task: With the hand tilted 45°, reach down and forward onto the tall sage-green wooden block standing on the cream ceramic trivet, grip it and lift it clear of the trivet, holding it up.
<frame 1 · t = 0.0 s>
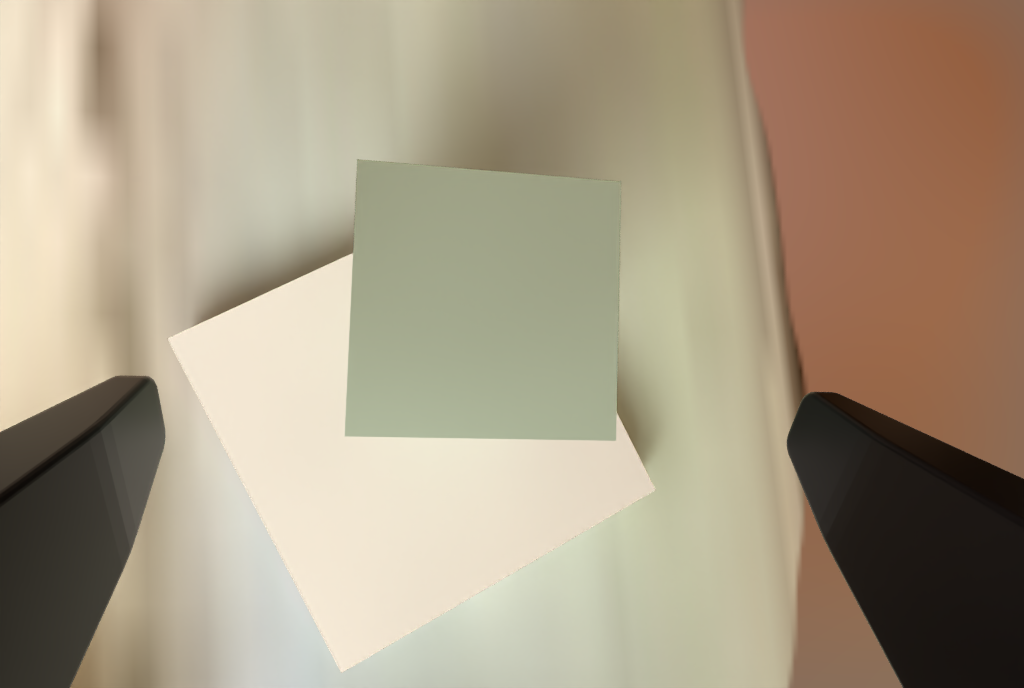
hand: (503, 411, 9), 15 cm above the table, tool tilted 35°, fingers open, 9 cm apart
sage block: (451, 338, 22), point 2 cm above the table, touching trivet
trivet: (423, 415, 23), on the table
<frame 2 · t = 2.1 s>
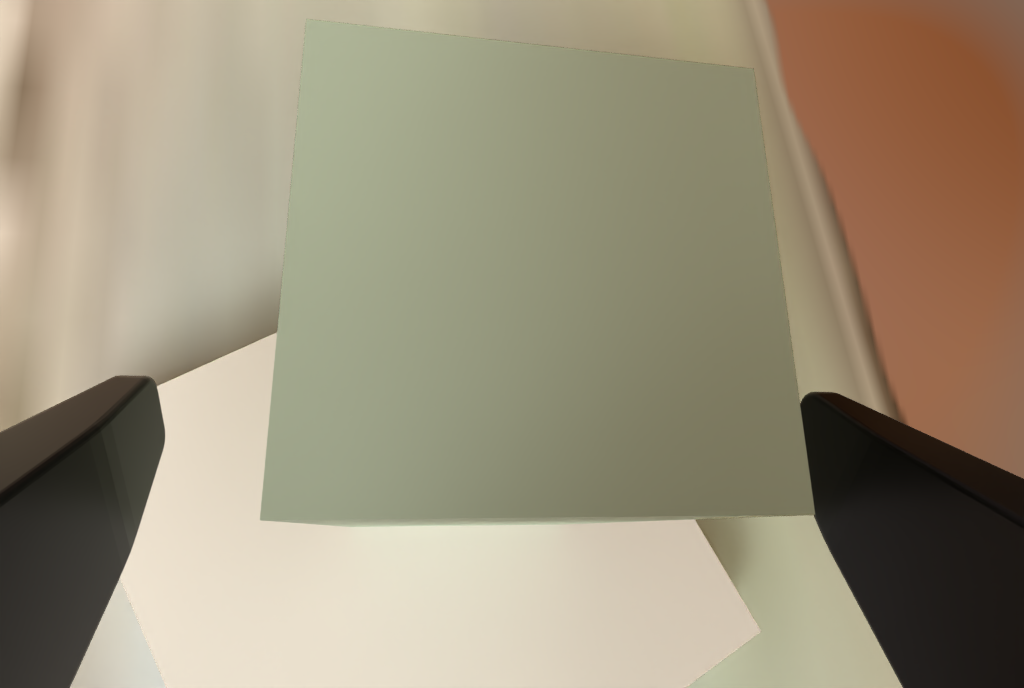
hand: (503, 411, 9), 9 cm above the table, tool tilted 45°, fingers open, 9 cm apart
sage block: (459, 420, 16), point 2 cm above the table, touching trivet
trivet: (422, 535, 17), on the table
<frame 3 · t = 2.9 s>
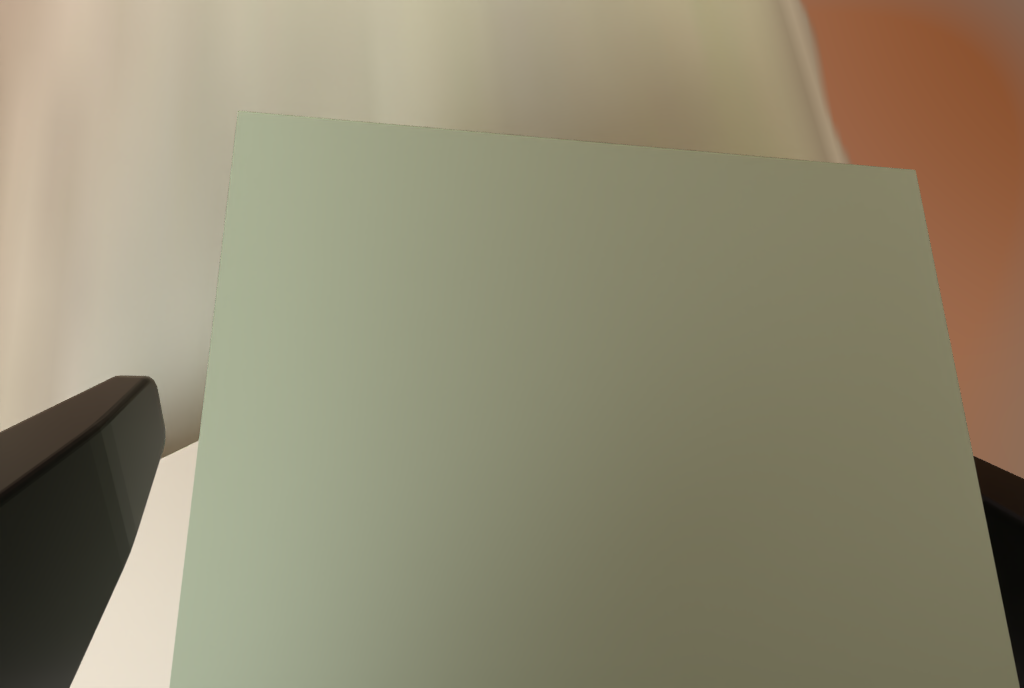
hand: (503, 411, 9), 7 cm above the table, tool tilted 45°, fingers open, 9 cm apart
sage block: (466, 518, 13), point 2 cm above the table, touching trivet
trivet: (422, 644, 14), on the table
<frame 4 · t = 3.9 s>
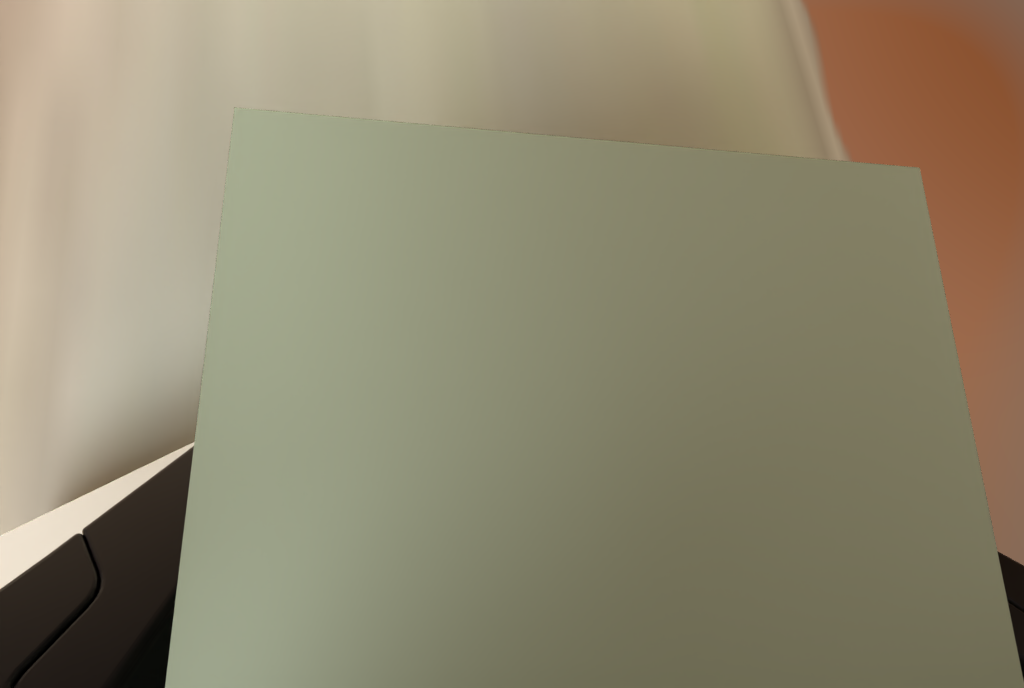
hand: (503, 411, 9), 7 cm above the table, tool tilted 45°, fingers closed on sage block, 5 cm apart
sage block: (466, 518, 13), point 2 cm above the table, touching gripper, trivet
trivet: (422, 645, 14), on the table
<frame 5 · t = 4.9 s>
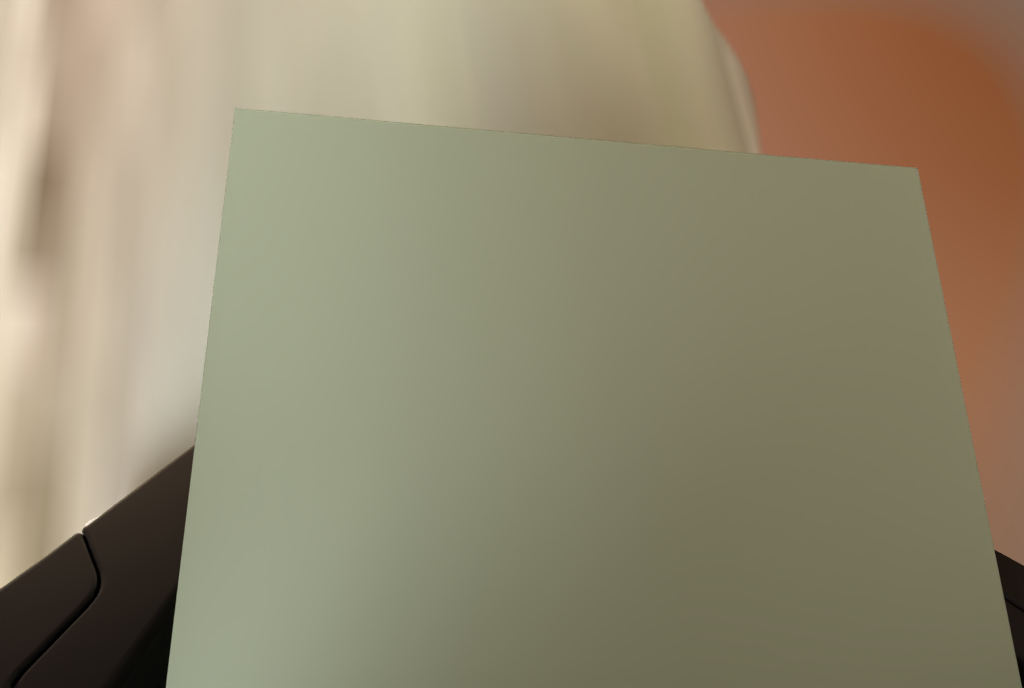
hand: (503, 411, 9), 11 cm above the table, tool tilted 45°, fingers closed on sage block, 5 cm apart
sage block: (466, 517, 13), point 6 cm above the table, touching gripper
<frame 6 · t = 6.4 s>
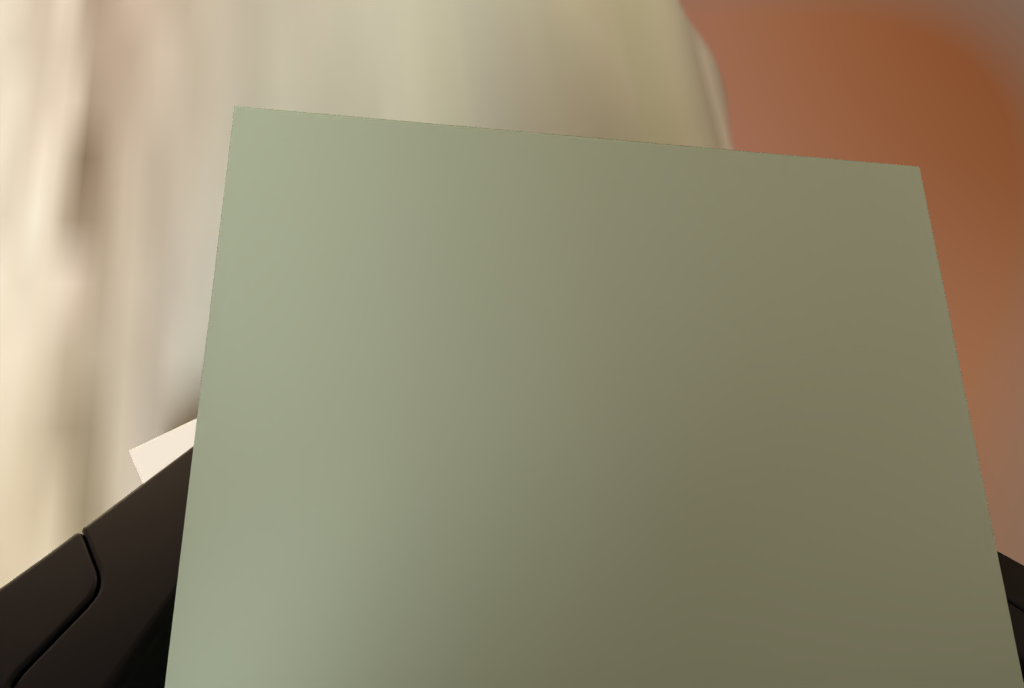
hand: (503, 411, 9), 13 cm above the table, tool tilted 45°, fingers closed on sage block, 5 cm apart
sage block: (466, 517, 13), point 8 cm above the table, touching gripper
trivet: (417, 532, 21), on the table
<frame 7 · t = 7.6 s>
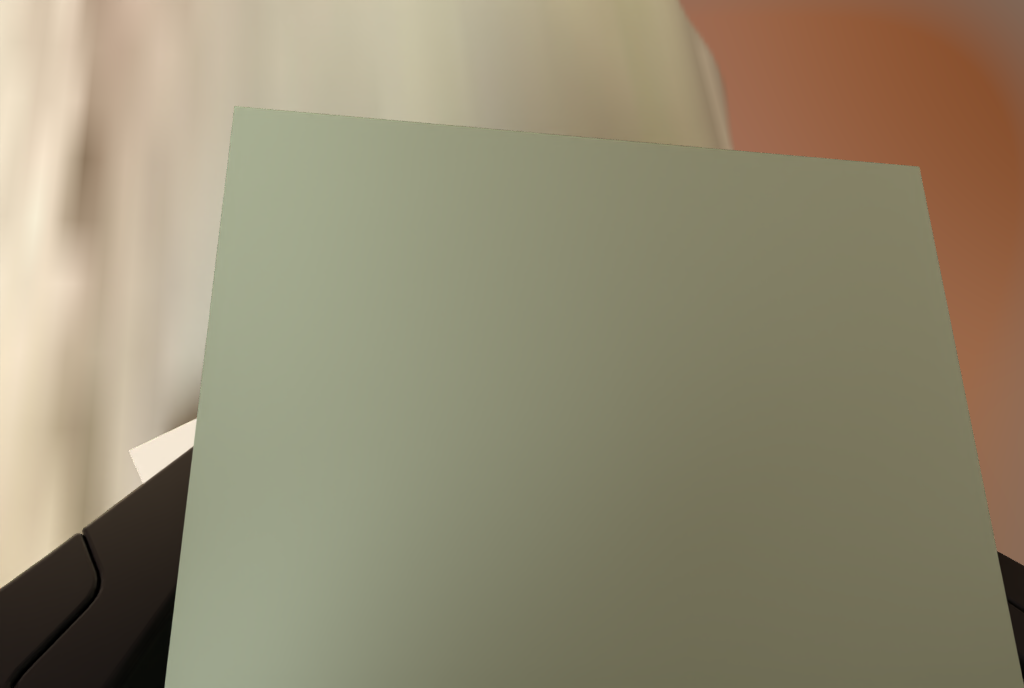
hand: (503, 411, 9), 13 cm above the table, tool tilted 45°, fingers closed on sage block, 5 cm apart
sage block: (466, 517, 13), point 8 cm above the table, touching gripper
trivet: (417, 532, 21), on the table
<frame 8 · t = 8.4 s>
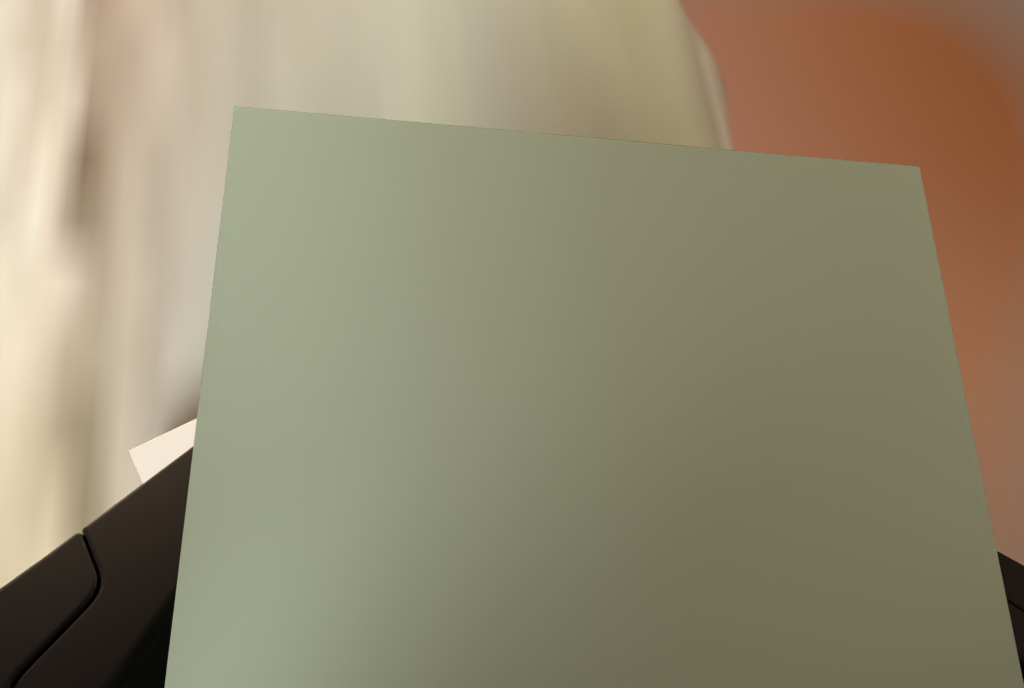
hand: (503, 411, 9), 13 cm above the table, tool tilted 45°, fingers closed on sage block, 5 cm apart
sage block: (466, 517, 13), point 8 cm above the table, touching gripper
trivet: (417, 532, 21), on the table
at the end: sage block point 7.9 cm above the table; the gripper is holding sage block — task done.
